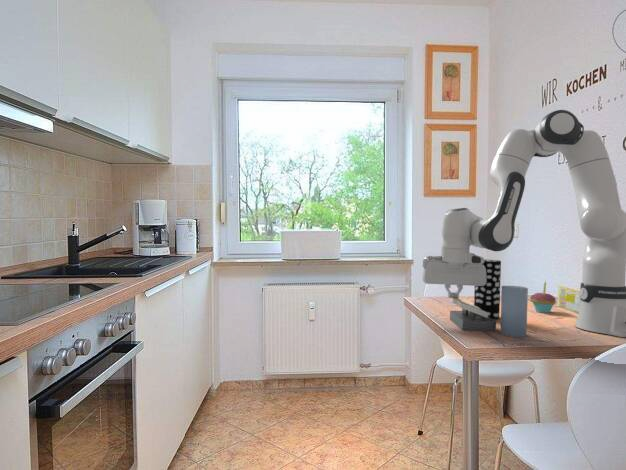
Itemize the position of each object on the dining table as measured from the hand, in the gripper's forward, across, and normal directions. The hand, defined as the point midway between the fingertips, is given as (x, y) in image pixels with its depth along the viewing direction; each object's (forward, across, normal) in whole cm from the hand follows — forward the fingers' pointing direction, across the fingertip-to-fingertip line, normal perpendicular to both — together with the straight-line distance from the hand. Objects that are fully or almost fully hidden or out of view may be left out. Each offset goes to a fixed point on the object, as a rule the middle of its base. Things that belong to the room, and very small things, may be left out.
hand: (453, 298), depth 137 cm
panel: (+8, +5, -4) cm, 10 cm away
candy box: (+8, +52, +24) cm, 58 cm away
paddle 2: (+2, +4, -7) cm, 9 cm away
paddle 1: (+2, +4, 0) cm, 4 cm away
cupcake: (+8, +39, +20) cm, 45 cm away
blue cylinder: (+8, +14, -14) cm, 21 cm away
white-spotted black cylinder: (+8, +14, +8) cm, 18 cm away
